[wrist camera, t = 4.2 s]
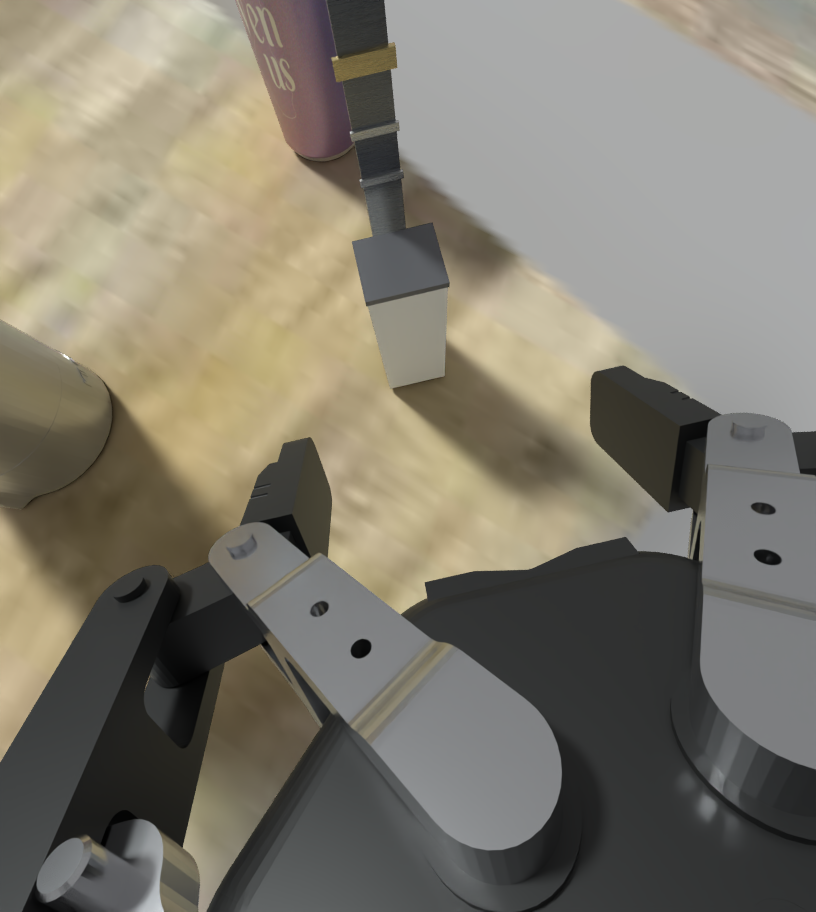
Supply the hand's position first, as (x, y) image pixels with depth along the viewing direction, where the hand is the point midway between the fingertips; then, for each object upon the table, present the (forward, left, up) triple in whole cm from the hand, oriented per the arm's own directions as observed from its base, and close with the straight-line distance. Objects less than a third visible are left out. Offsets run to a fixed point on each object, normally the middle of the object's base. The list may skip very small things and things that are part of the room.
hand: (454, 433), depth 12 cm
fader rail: (+8, +9, -13) cm, 18 cm away
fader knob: (+6, +7, -13) cm, 16 cm away
